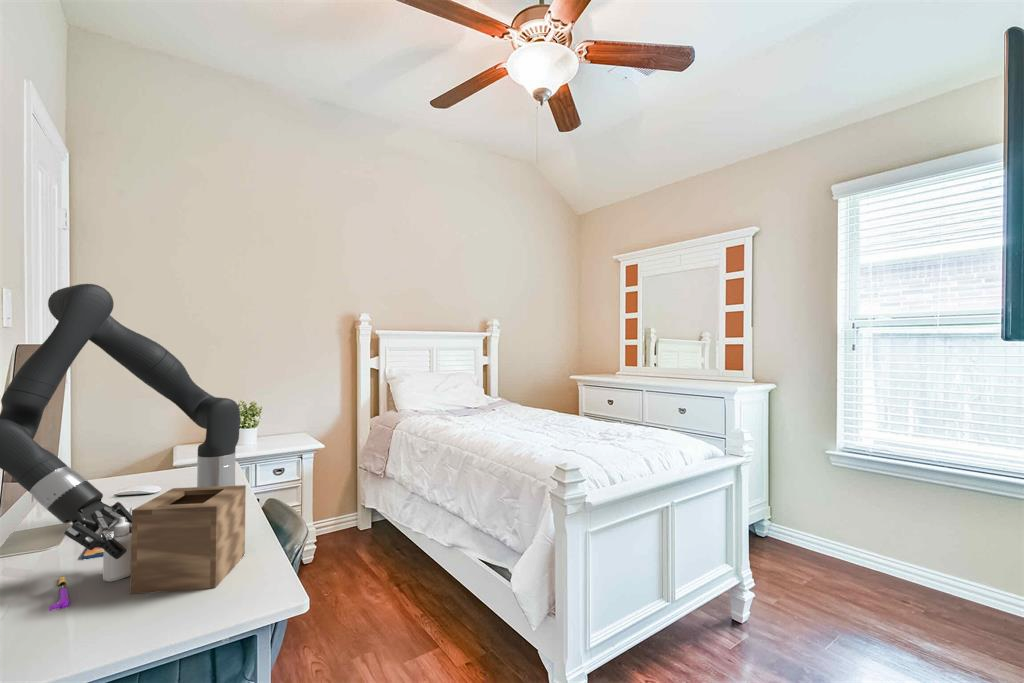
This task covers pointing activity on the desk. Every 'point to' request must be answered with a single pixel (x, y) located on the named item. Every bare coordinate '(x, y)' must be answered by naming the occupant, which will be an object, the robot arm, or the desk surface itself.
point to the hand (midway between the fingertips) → (131, 548)
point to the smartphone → (93, 553)
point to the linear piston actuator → (64, 597)
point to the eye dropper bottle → (121, 566)
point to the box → (187, 538)
